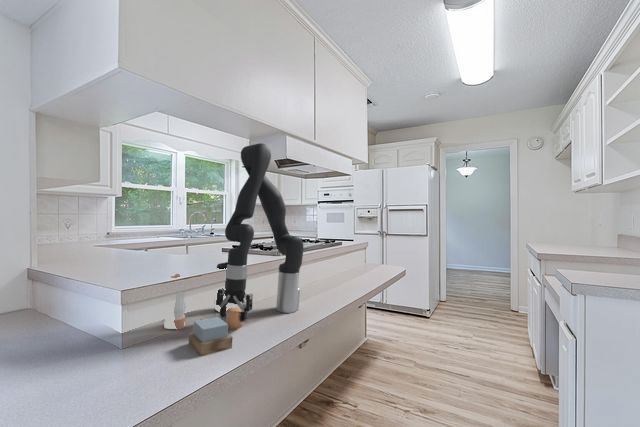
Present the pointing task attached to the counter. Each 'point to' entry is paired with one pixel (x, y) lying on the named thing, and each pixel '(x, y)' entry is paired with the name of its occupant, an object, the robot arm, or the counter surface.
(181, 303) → the salt shaker
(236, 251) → the robot arm
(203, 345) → the walnut base block
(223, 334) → the slate top block
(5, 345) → the counter surface
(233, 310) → the terracotta drum
